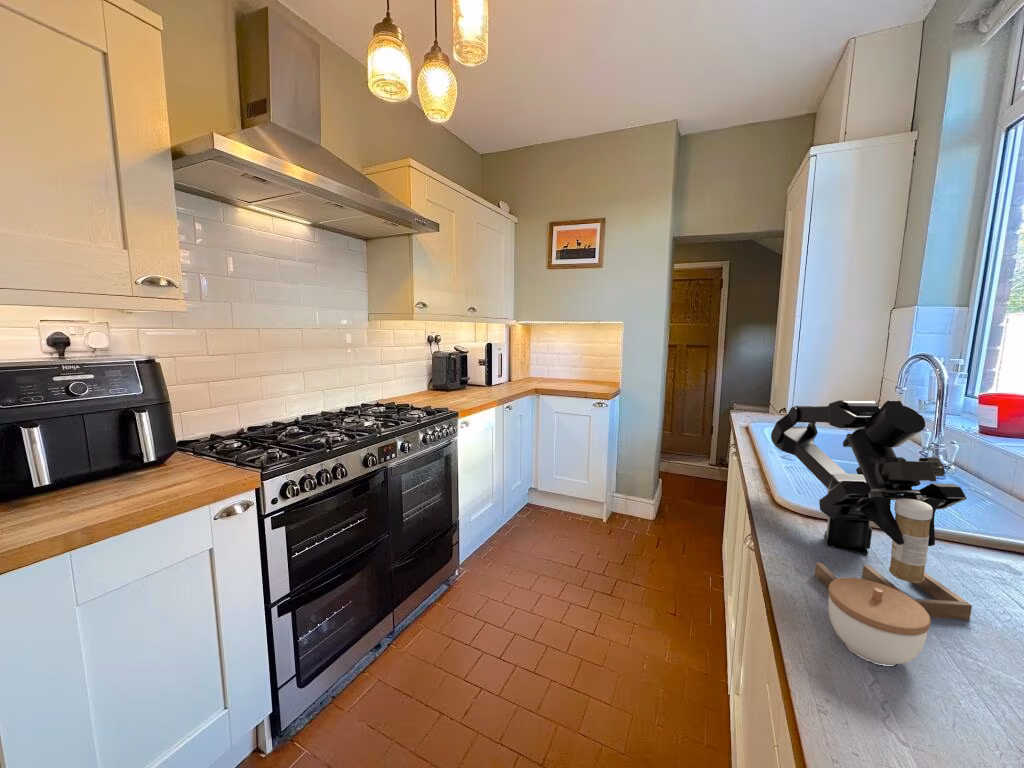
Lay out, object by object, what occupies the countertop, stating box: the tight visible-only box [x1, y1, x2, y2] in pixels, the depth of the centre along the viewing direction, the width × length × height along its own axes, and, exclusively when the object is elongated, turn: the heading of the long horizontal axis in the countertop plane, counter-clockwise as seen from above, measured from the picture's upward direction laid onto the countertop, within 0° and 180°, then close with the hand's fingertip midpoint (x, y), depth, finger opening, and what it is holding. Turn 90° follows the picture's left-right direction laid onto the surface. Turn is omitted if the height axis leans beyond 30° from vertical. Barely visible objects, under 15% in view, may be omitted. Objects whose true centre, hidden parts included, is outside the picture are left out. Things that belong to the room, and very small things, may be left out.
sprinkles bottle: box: [888, 499, 933, 584], centre depth 70 cm, size 5×5×14 cm
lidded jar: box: [827, 577, 931, 666], centre depth 58 cm, size 11×11×9 cm
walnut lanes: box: [813, 562, 973, 621], centre depth 70 cm, size 10×17×2 cm, turn 83°
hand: (916, 544), depth 69 cm, fingers closed on sprinkles bottle, 4 cm apart
